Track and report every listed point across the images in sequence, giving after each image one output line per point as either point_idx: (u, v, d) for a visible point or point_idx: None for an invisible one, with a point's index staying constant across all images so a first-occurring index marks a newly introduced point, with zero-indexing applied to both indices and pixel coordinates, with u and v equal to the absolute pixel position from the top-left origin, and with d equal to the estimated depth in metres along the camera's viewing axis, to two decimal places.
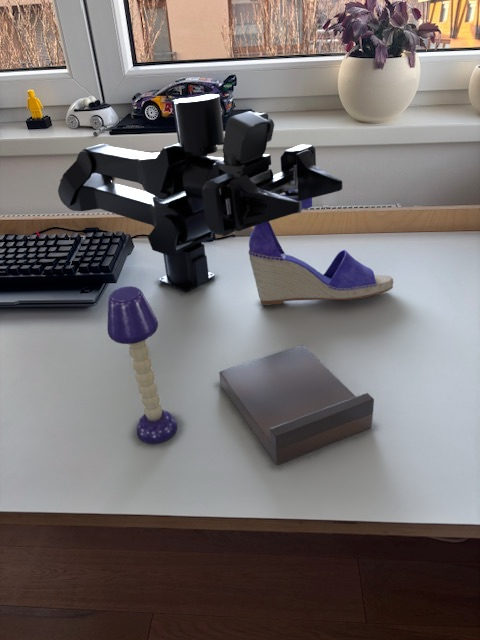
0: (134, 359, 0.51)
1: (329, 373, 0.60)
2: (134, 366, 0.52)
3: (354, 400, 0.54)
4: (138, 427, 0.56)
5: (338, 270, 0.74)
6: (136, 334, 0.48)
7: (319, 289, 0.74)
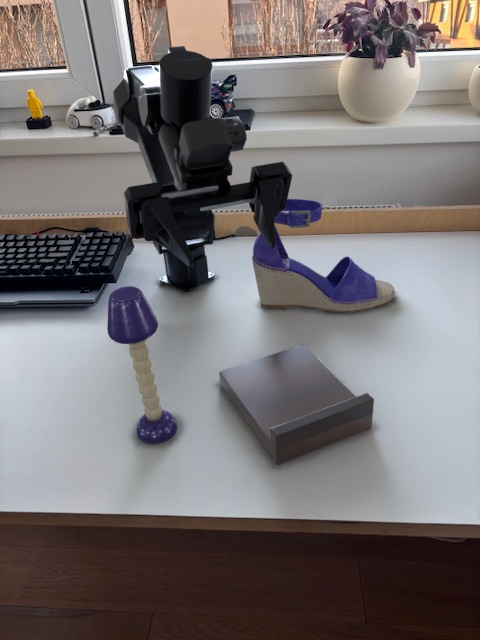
0: (134, 359, 0.51)
1: (329, 373, 0.60)
2: (134, 366, 0.52)
3: (354, 400, 0.54)
4: (138, 427, 0.56)
5: (341, 283, 0.74)
6: (136, 334, 0.48)
7: (319, 300, 0.74)
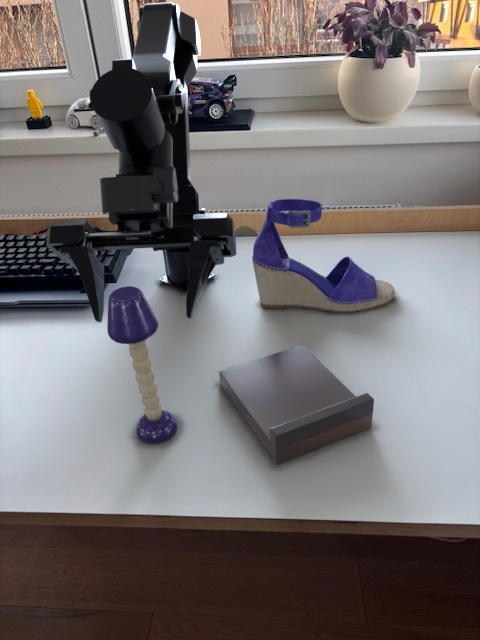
0: (134, 359, 0.51)
1: (329, 373, 0.60)
2: (134, 366, 0.52)
3: (354, 400, 0.54)
4: (138, 427, 0.56)
5: (341, 283, 0.74)
6: (136, 334, 0.48)
7: (319, 300, 0.74)
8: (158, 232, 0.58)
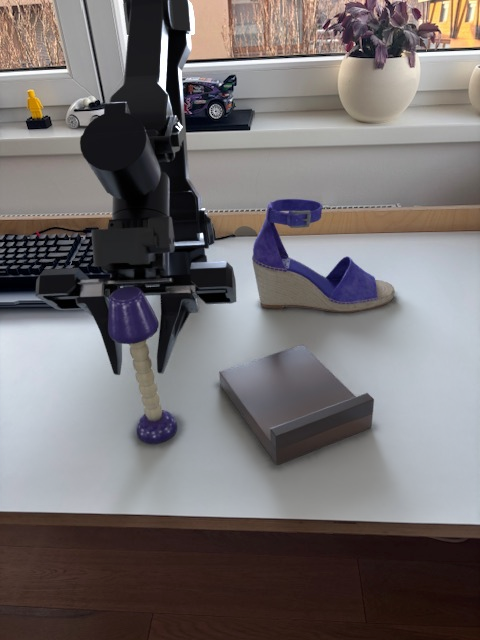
0: (134, 359, 0.51)
1: (329, 373, 0.60)
2: (134, 366, 0.52)
3: (354, 400, 0.54)
4: (138, 427, 0.56)
5: (341, 283, 0.74)
6: (137, 334, 0.48)
7: (319, 300, 0.74)
8: (154, 278, 0.55)
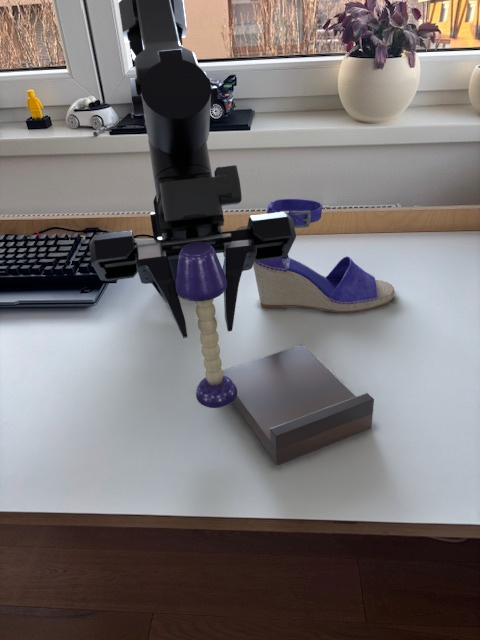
0: (202, 319, 0.50)
1: (329, 373, 0.60)
2: (201, 327, 0.50)
3: (354, 400, 0.54)
4: (200, 393, 0.54)
5: (341, 283, 0.74)
6: (212, 290, 0.47)
7: (319, 300, 0.74)
8: None
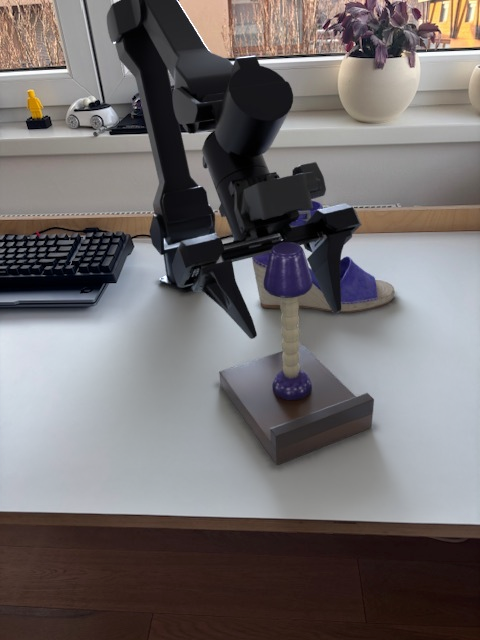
0: (288, 315, 0.53)
1: (329, 373, 0.60)
2: (287, 323, 0.53)
3: (354, 400, 0.54)
4: (280, 388, 0.57)
5: (341, 283, 0.74)
6: (306, 285, 0.50)
7: (319, 300, 0.74)
8: None
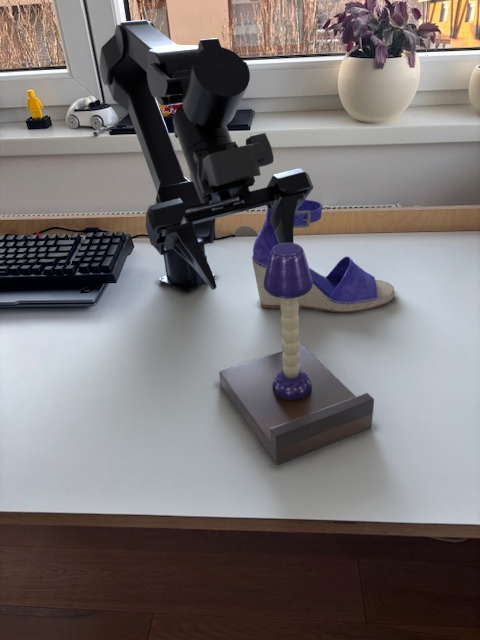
0: (289, 315, 0.53)
1: (329, 373, 0.60)
2: (287, 323, 0.53)
3: (354, 400, 0.54)
4: (280, 388, 0.57)
5: (341, 283, 0.74)
6: (306, 285, 0.50)
7: (319, 300, 0.74)
8: None
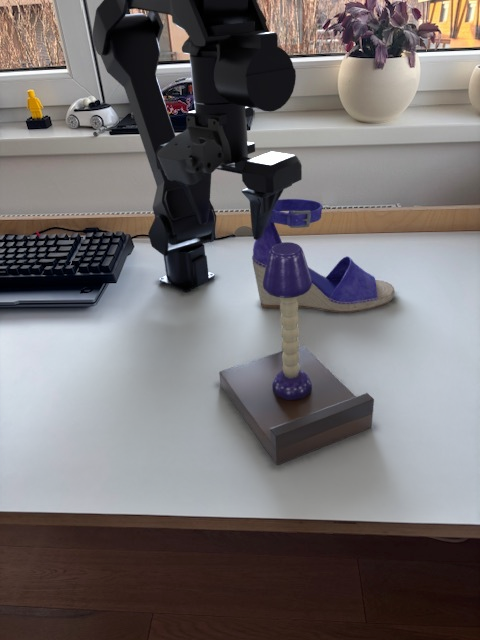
0: (288, 315, 0.53)
1: (329, 373, 0.60)
2: (287, 323, 0.53)
3: (354, 400, 0.54)
4: (280, 388, 0.57)
5: (341, 283, 0.74)
6: (305, 285, 0.50)
7: (319, 300, 0.74)
8: None
